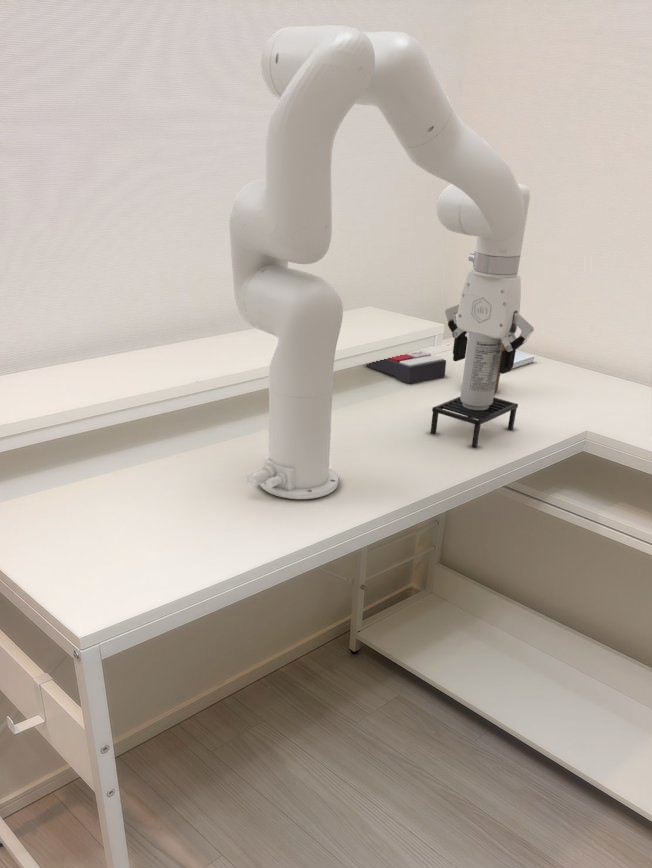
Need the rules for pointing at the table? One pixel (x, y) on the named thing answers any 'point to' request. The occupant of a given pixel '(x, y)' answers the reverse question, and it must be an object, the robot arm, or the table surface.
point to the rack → (474, 414)
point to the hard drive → (522, 359)
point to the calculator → (412, 367)
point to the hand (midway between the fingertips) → (481, 365)
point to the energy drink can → (480, 371)
